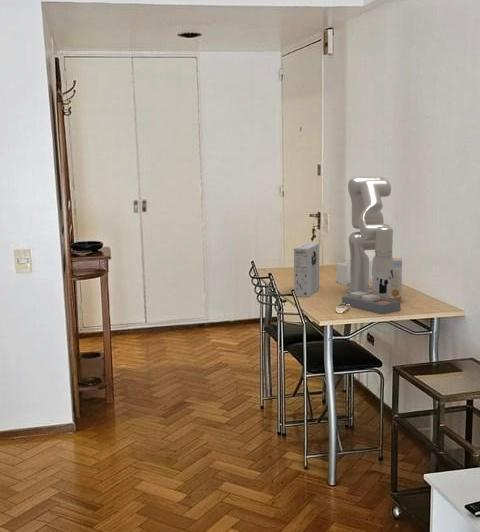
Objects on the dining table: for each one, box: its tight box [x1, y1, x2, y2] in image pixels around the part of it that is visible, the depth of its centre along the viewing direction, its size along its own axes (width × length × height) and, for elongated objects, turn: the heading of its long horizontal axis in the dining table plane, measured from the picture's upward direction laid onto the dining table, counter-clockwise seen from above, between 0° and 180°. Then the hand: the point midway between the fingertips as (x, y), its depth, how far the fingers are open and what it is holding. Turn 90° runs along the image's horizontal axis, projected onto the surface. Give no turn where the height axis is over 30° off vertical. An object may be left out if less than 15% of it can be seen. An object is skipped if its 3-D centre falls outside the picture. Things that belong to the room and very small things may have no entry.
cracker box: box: [371, 257, 403, 303], centre depth 337 cm, size 14×6×21 cm, turn 77°
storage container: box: [336, 259, 373, 286], centre depth 386 cm, size 25×11×11 cm, turn 111°
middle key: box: [362, 293, 380, 301], centre depth 325 cm, size 6×6×2 cm
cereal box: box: [293, 242, 320, 298], centre depth 359 cm, size 22×8×25 cm, turn 159°
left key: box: [349, 292, 368, 298], centre depth 331 cm, size 6×6×2 cm
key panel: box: [341, 294, 402, 315], centre depth 325 cm, size 26×12×4 cm, turn 35°
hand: (382, 293), depth 318 cm, fingers closed
